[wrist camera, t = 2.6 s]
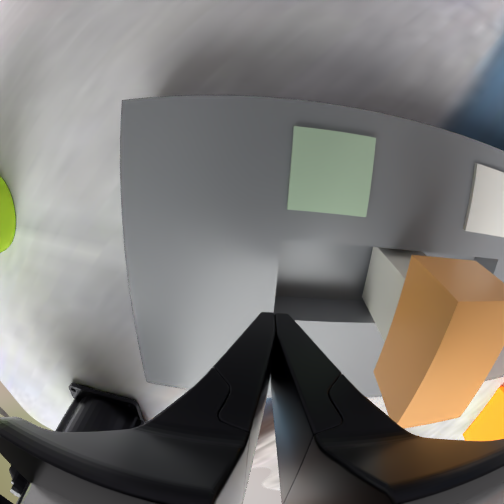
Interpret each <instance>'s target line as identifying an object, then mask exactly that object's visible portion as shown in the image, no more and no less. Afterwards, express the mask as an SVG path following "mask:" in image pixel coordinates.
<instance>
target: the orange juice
mask: <svg viewBox="0 0 504 504" xmlns="http://www.w3.org/2000/svg"><path fill="white" fill-rule="evenodd" d="M463 436H464V438H465V441H492V440H499V439H504V386H502V387H499V388H498V390H497V391H496V393H495V394H494V395H493V397H492V398H491V400H490V401H489V402H488V404H487V405H486V406H485V408H484V409H483V410H482V412H481V413H480V414H479V416H478V417H477V418H476V419H475V421H474V422H473V423H472V424H471V425H470V427H469V428H468V429H467V430H466V431H465V432H464V434H463Z"/></svg>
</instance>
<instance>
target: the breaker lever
mask: <svg viewBox="0 0 504 504" xmlns="http://www.w3.org/2000/svg"><path fill="white" fill-rule="evenodd" d="M362 298H363V300H364V302H365V304H366V306H367V308H368V310H369V312H370V314H371V316H372V318H373V320H374V322H375V324H376V326H377V328H378V330H379V332H380V334H381V336H382V338H383V340H384V342H385V343H384V346H383V349H382V351H381V354H380V357H379V359H378V362H377V364H376V367H375V369H374V375H375V378H376V380H377V383H378V386H379V389H380V391H381V394H382V397H383V400H384V403H385V406H386V409H387V412H388V415H389V417H390V418H391V419H392V420H393V421H395V422H396V423H397V424H398V425H399V426H401V427H402V428H409V427H415V426H420V425H426V424H431V423H436V422H441V421H445V420H449V419H454V418H458V417H460V416H461V415H462V413H463V412H464V411H465V409H466V408H467V406H468V405H469V403H470V402H471V400H472V399H473V397H474V396H475V394H476V393H477V391H478V390H479V388H480V387H481V385H482V384H483V382H484V380H485V379H486V377H487V375H488V374H489V372H490V370H491V369H492V367H493V365H494V363H495V362H496V360H497V358H498V356H499V354H500V352H501V350H502V349H503V347H504V283H503V282H502V281H501V280H500V279H498V278H497V277H496V276H495V275H493V274H492V273H491V272H490V271H488V270H487V269H486V268H485V267H483V266H482V265H481V264H479V263H478V262H477V261H473V260H463V259H452V258H442V257H431V256H427V255H425V254H424V253H423V252H422V251H413V250H403V249H392V248H381V247H373V250H372V255H371V259H370V264H369V269H368V273H367V277H366V282H365V286H364V290H363V294H362Z"/></svg>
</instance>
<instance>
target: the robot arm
mask: <svg viewBox="0 0 504 504" xmlns="http://www.w3.org/2000/svg"><path fill="white" fill-rule="evenodd" d="M269 382H270V383H271V395H272V405H273V415H274V426H275V436H276V446H277V457H278V467H279V478H280V489H281V499H282V504H504V439H499V440H492V441H463V440H445V439H433V438H424V437H419V436H416V435H413V434H411V433H409V432H408V431H406V430H405V429H403V428H402V427H401V426H399V425H398V424H397V423H396V422H395V421H393V420H392V419H391V418H390V417H389V416H387V415H386V414H385V413H384V412H383V411H381V410H380V409H379V408H378V407H377V406H375V405H374V404H373V403H372V402H371V401H370V400H369V399H367V398H366V397H365V396H364V395H363V394H362V393H361V392H360V391H359V390H358V389H357V388H356V387H355V386H354V385H353V384H352V383H351V382H350V381H349V380H348V379H347V378H346V377H345V376H344V375H343V374H342V373H341V371H340V370H339V369H338V368H337V367H336V366H335V365H334V364H333V363H332V361H331V360H330V359H329V358H328V357H327V356H326V355H325V354H324V353H323V352H322V350H321V349H320V348H319V347H318V346H317V345H316V344H315V343H314V342H313V340H312V339H311V338H310V337H309V336H308V335H307V334H306V333H305V332H304V330H303V329H302V328H301V327H300V326H299V325H298V324H297V323H296V322H295V320H294V319H293V318H292V317H291V316H290V315H289V314H288V313H275V314H274V313H273V312H261V313H260V314H259V315H258V316H257V317H256V318H255V320H254V321H253V322H252V323H251V324H250V325H249V327H248V328H247V329H246V330H245V331H244V332H243V333H242V335H241V336H240V337H239V338H238V339H237V340H236V341H235V343H234V344H233V345H232V346H231V347H230V348H229V349H228V350H227V352H226V353H225V354H224V355H223V356H222V357H221V358H220V359H219V360H218V362H217V363H216V364H215V365H214V366H213V368H211V369H210V370H209V371H208V372H207V374H206V375H205V376H204V377H203V378H202V379H201V380H200V381H199V382H198V383H197V384H196V385H195V386H193V387H192V388H191V389H190V390H189V391H187V392H186V393H185V394H184V395H183V396H181V397H180V398H179V399H178V400H176V401H175V402H174V403H172V404H171V405H170V406H169V407H167V408H166V409H165V410H163V411H162V412H161V413H159V414H158V415H157V416H155V417H154V418H153V419H151V420H150V421H148V422H147V423H145V422H144V420H143V418H142V415H141V412H140V409H139V406H138V403H137V402H136V401H134V400H132V399H129V398H124V397H121V396H117V395H113V394H109V393H105V392H102V391H98V390H95V389H92V388H88V387H85V386H82V385H79V384H75V383H71V384H70V386H69V389H70V391H71V394H72V396H73V398H74V400H73V402H72V404H71V405H70V407H69V409H68V410H67V412H66V414H65V415H64V417H63V419H62V420H61V422H60V424H59V425H58V427H57V429H56V431H51V430H47V429H43V428H41V427H38V426H36V425H34V424H32V423H30V422H28V421H26V420H24V419H22V418H19V417H2V418H1V417H0V453H1V454H2V455H3V457H4V458H5V459H6V460H7V461H8V462H9V463H10V464H11V467H10V469H9V471H10V474H11V477H12V479H13V480H12V482H11V483H12V484H13V486H12V488H11V491H10V492H11V493H13V494H14V495H15V496H17V497H19V499H18V501H17V503H16V504H242V503H243V500H244V496H245V492H246V488H247V484H248V479H249V475H250V471H251V467H252V462H253V458H254V454H255V449H256V445H257V440H258V436H259V431H260V426H261V422H262V417H263V412H264V407H265V403H266V398H267V393H268V388H269ZM0 504H13V503H12V502H10V501H9V500H7V499H6V498H5V497H3V496H2V495H0Z"/></svg>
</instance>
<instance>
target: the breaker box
mask: <svg viewBox="0 0 504 504" xmlns="http://www.w3.org/2000/svg"><path fill="white" fill-rule="evenodd" d="M120 178H121V205H122V222H123V235H124V247H125V257H126V266H127V274H128V282H129V290H130V297H131V304H132V310H133V316H134V322H135V328H136V333H137V339H138V344H139V349H140V354H141V359H142V363H143V368H144V372H145V377H146V381H147V382H149V383H154V384H159V385H165V386H171V387H176V388H183V389H189V390H190V389H191V388H192V387H193V386H195V385H196V384H197V383H198V382H199V381H200V380H201V379H202V378H203V377H204V376H205V375H206V374H207V372H208V371H209V370H210V369H211V368H213V366H214V365H215V364H216V363H217V362H218V360H219V359H220V358H221V357H222V356H223V355H224V354H225V353H226V352H227V350H228V349H229V348H230V347H231V346H232V345H233V344H234V343H235V341H236V340H237V339H238V338H239V337H240V336H241V335H242V333H243V332H244V331H245V330H246V329H247V328H248V327H249V325H250V324H251V323H252V322H253V321H254V320H255V318H256V317H257V316H258V315H259V314H260V313H261V312H273V313H274V314H275V313H288V314H289V315H290V316H291V317H292V318H293V319H294V320H295V322H296V323H297V324H298V325H299V326H300V327H301V328H302V329H303V330H304V332H305V333H306V334H307V335H308V336H309V337H310V338H311V339H312V340H313V342H314V343H315V344H316V345H317V346H318V347H319V348H320V349H321V350H322V352H323V353H324V354H325V355H326V356H327V357H328V358H329V359H330V360H331V361H332V363H333V364H334V365H335V366H336V367H337V368H338V369H339V370H340V371H341V373H342V374H343V375H344V376H345V377H346V378H347V379H348V380H349V381H350V382H351V383H352V384H353V385H354V386H355V387H356V388H357V389H358V390H359V391H360V392H361V393H362V394H363V395H364V396H365V397H366V398H368V397H382V394H381V391H380V389H379V386H378V383H377V380H376V378H375V375H374V369H375V367H376V364H377V362H378V359H379V357H380V354H381V351H382V349H383V346H384V343H385V342H384V340H383V338H382V336H381V334H380V332H379V330H378V328H377V326H376V324H375V322H374V320H373V318H372V316H371V314H370V312H369V310H368V308H367V306H366V304H365V302H364V300H363V298H362V294H363V290H364V286H365V282H366V277H367V273H368V269H369V264H370V259H371V255H372V250H373V247H381V248H392V249H403V250H413V251H422V252H423V253H424V254H425V255H427V256H431V257H442V258H452V259H463V260H473V261H477V262H478V263H479V264H481V265H482V266H483V267H485V268H486V269H487V270H488V271H490V272H491V273H492V274H493V275H495V276H496V277H497V278H498V279H500V280H501V281H502V282H503V283H504V151H502V150H500V149H498V148H495V147H493V146H490V145H488V144H485V143H482V142H480V141H477V140H474V139H472V138H469V137H466V136H463V135H460V134H457V133H454V132H451V131H448V130H445V129H441V128H438V127H435V126H431V125H428V124H424V123H421V122H417V121H413V120H409V119H405V118H401V117H397V116H393V115H389V114H384V113H379V112H375V111H370V110H365V109H359V108H354V107H348V106H342V105H336V104H329V103H322V102H314V101H306V100H297V99H287V98H275V97H260V96H238V95H187V96H165V97H150V98H139V99H129V100H122V109H121V136H120ZM503 375H504V347H503V349H502V350H501V352H500V354H499V356H498V358H497V360H496V362H495V363H494V365H493V367H492V369H491V370H490V372H489V374H488V375H487V377H486V379H485V380H484V381H487V380H492V379H496V378H500V377H503ZM267 398H272V395H271V383H270V382H269V388H268V393H267Z"/></svg>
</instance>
